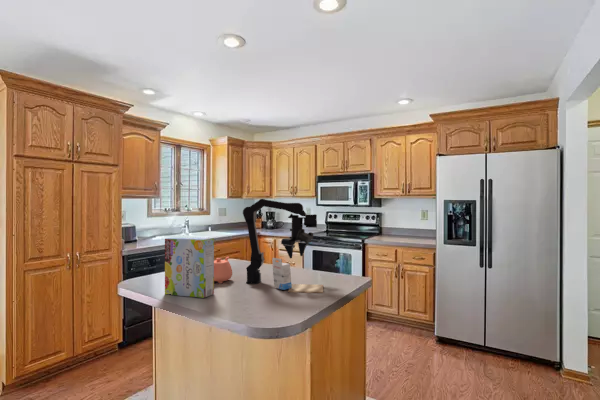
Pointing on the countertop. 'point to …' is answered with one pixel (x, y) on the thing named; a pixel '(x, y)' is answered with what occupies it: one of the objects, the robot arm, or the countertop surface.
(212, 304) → the countertop surface
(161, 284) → the countertop surface
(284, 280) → the ink box
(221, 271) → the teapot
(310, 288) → the cork trivet
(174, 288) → the snack box
